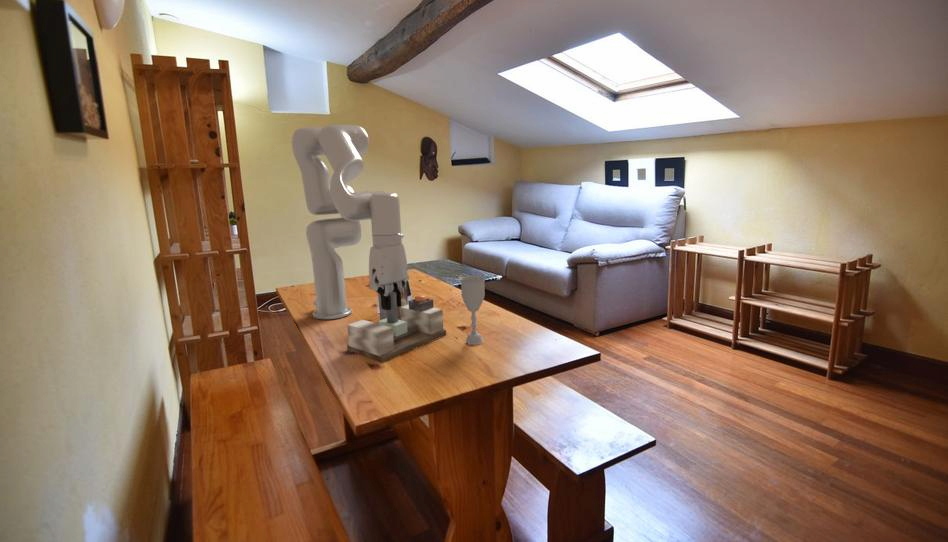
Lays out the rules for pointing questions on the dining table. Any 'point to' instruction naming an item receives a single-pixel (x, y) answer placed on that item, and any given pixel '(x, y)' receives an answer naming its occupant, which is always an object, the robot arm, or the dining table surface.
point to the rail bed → (384, 346)
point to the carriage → (394, 317)
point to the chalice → (473, 302)
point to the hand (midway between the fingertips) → (391, 307)
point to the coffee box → (403, 301)
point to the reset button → (420, 298)
